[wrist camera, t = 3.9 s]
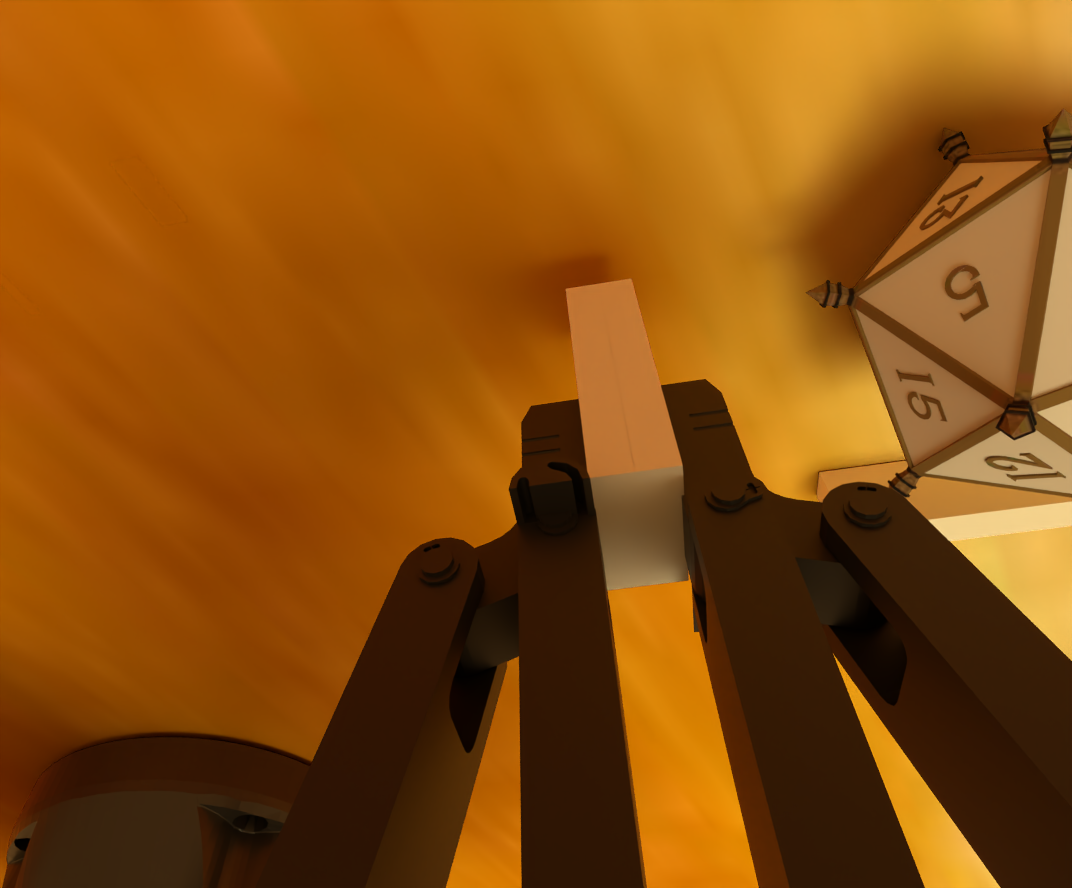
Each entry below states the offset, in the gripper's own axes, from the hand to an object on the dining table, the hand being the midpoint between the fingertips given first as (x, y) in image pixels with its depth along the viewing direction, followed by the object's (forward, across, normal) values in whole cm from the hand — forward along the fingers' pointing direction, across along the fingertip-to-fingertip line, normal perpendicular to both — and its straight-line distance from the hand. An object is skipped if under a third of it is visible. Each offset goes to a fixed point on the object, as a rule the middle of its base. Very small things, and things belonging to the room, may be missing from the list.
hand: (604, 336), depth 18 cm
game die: (+2, -9, 0) cm, 9 cm away
